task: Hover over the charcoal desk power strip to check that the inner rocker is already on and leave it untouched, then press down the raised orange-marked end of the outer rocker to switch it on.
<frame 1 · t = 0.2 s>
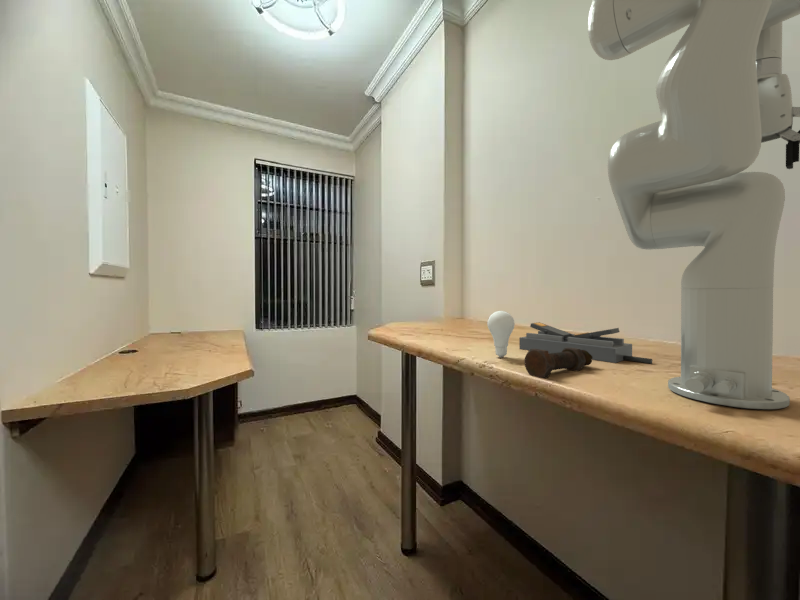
hand: (749, 175, 62), 36 cm above the table, tool pointing down, fingers open, 9 cm apart
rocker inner: (594, 334, 78), point 5 cm above the table, hinge at -15.0°
bolt: (562, 373, 65), on the table
rocker outer: (550, 330, 87), point 5 cm above the table, hinge at 15.0°
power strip: (571, 352, 82), on the table
lightbulb: (501, 358, 79), on the table
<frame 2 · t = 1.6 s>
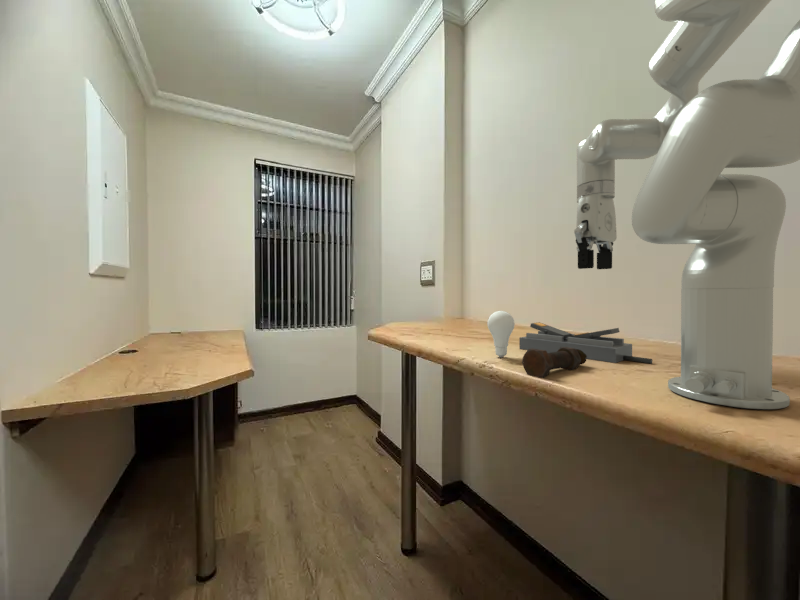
hand: (595, 268, 77), 20 cm above the table, tool pointing down, fingers open, 8 cm apart
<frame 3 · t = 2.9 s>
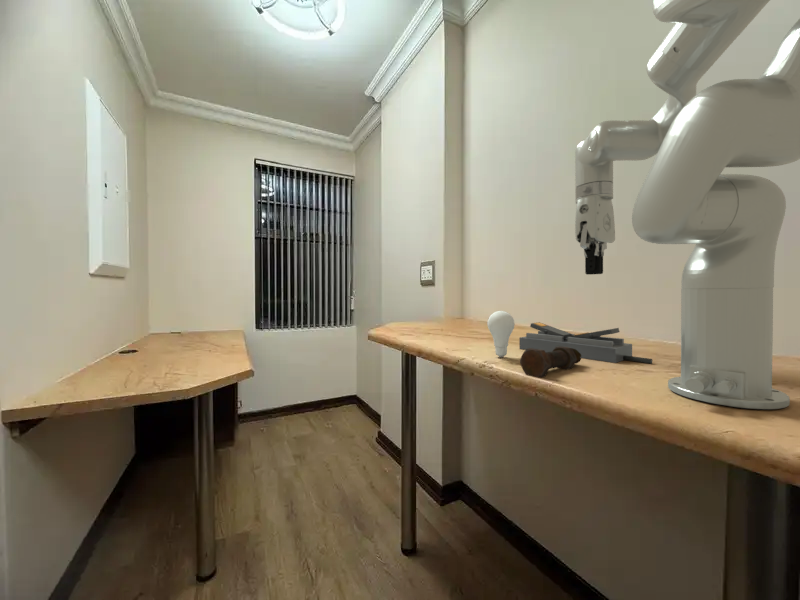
hand: (594, 274, 77), 19 cm above the table, tool pointing down, fingers closed
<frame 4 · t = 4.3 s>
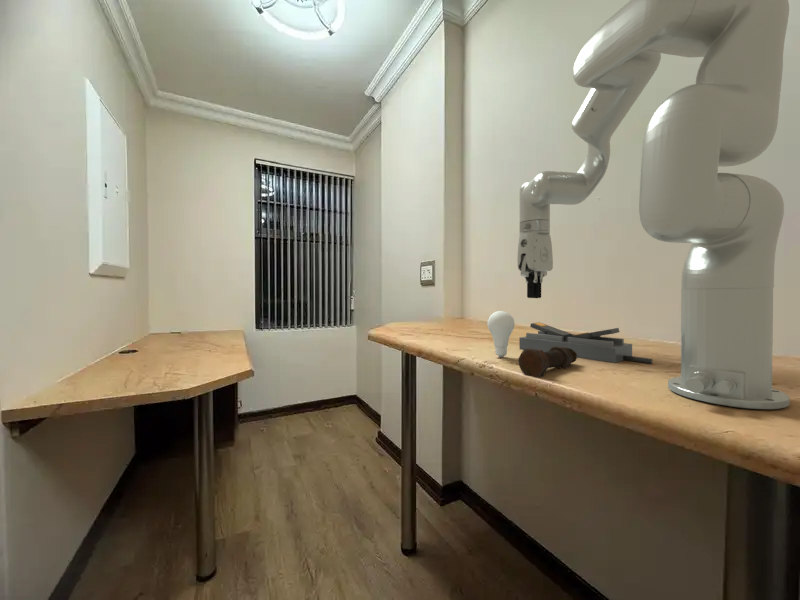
hand: (534, 297, 90), 13 cm above the table, tool pointing down, fingers closed
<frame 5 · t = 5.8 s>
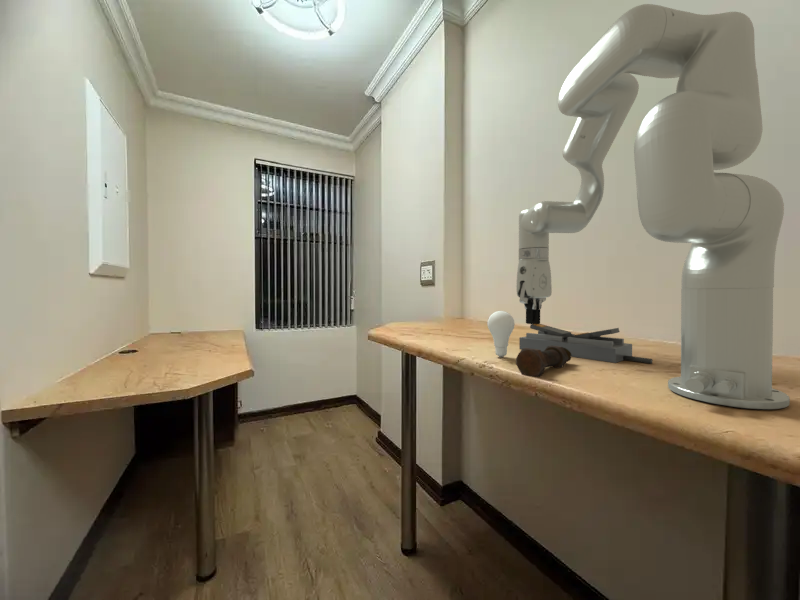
hand: (532, 323, 91), 6 cm above the table, tool pointing down, fingers closed
rocker outer: (550, 330, 87), point 5 cm above the table, hinge at 10.6°, touching gripper
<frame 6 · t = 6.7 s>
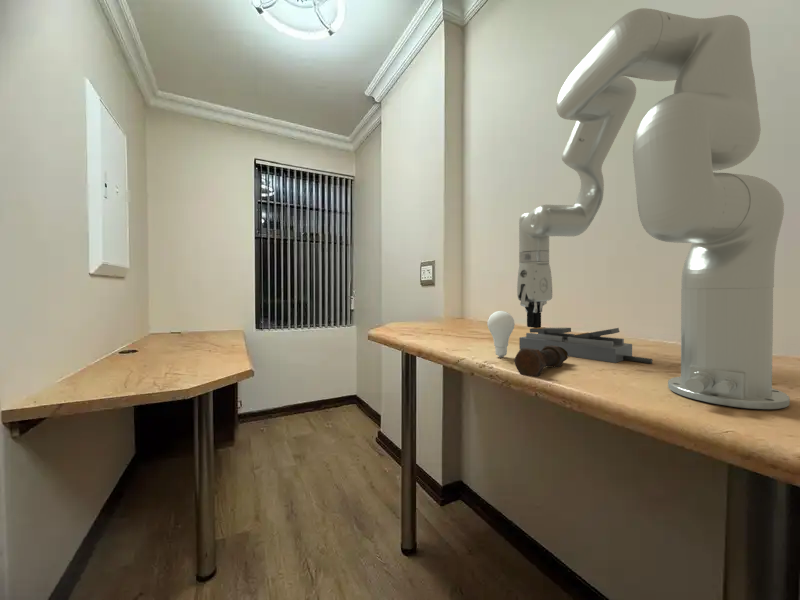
hand: (533, 326, 90), 6 cm above the table, tool pointing down, fingers closed
rocker outer: (549, 330, 87), point 5 cm above the table, hinge at -4.1°, touching gripper
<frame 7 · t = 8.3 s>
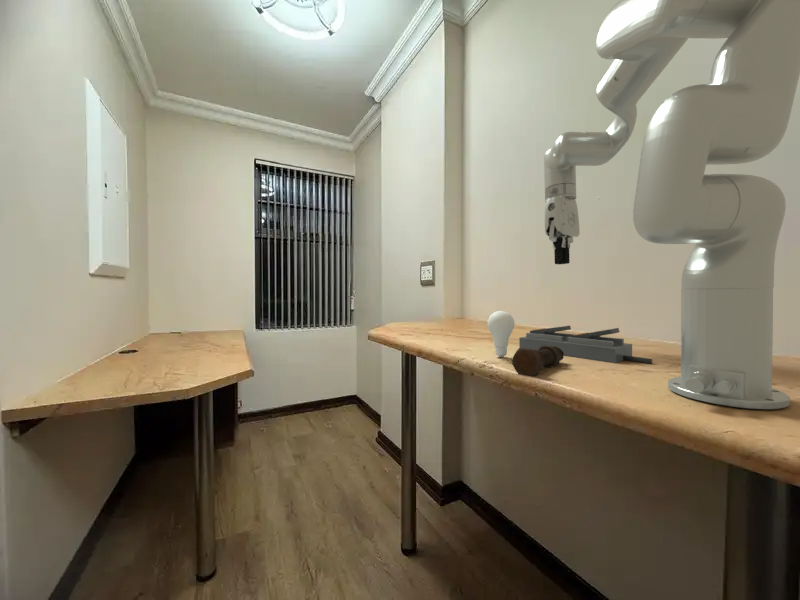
hand: (562, 263, 89), 22 cm above the table, tool pointing down, fingers closed
rocker outer: (549, 330, 87), point 5 cm above the table, hinge at -11.3°
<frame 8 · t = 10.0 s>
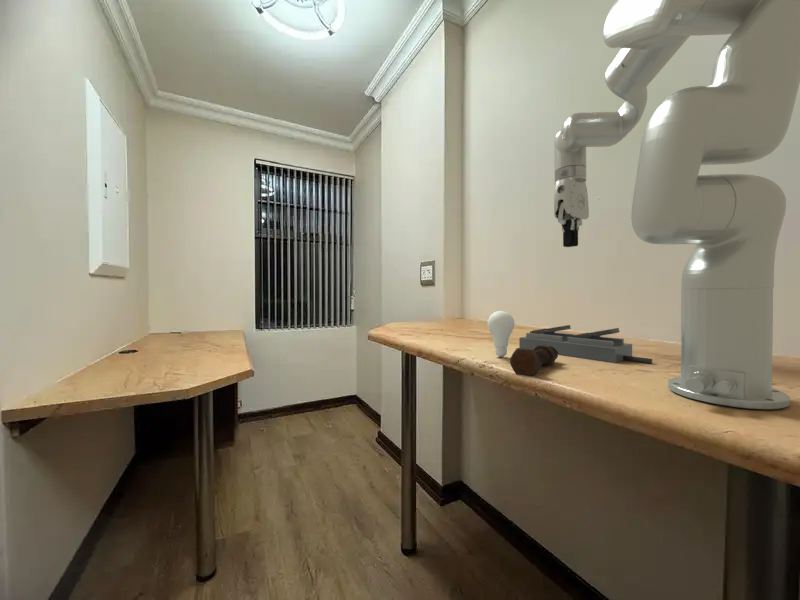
hand: (570, 246, 89), 27 cm above the table, tool pointing down, fingers closed
rocker outer: (549, 330, 87), point 5 cm above the table, hinge at -13.2°
at the end: rocker outer at -13° (first picture: +15°); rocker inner at -15° (first picture: -15°) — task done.
